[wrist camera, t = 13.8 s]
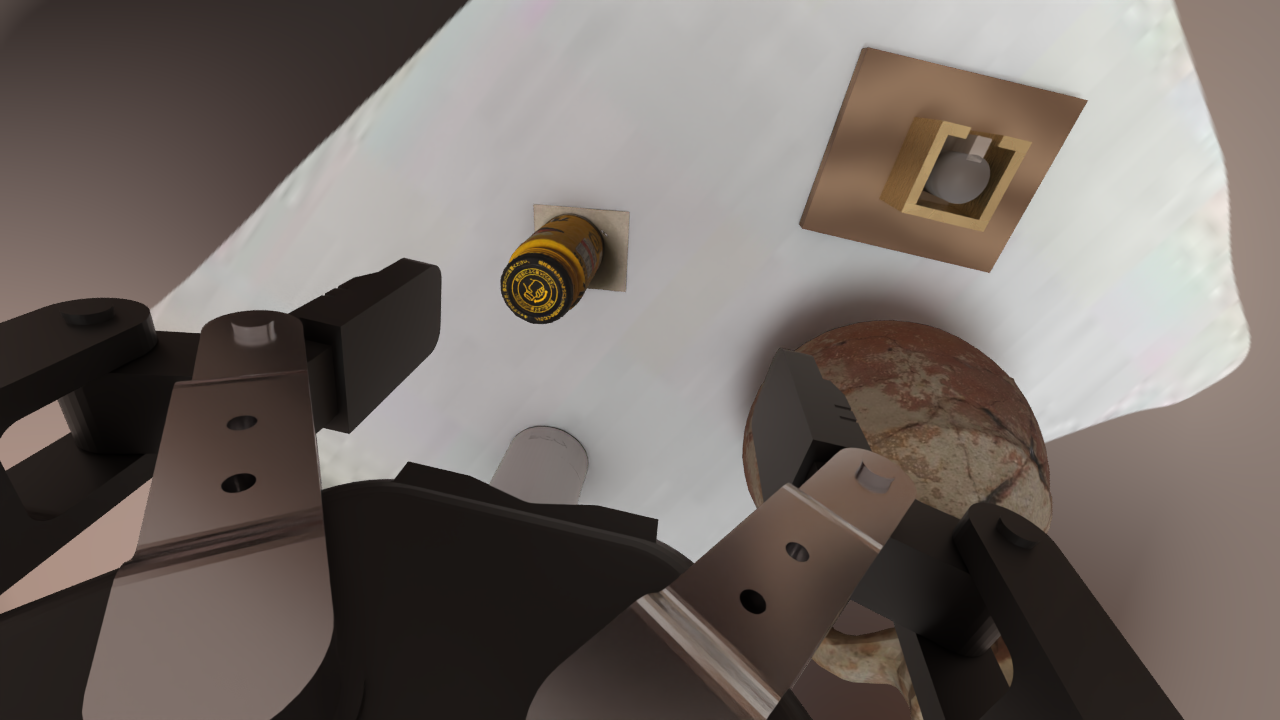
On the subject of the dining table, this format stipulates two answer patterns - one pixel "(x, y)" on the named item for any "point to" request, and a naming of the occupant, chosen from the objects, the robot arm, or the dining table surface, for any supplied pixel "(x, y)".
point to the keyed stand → (875, 135)
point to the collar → (921, 158)
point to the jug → (927, 451)
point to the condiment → (565, 261)
